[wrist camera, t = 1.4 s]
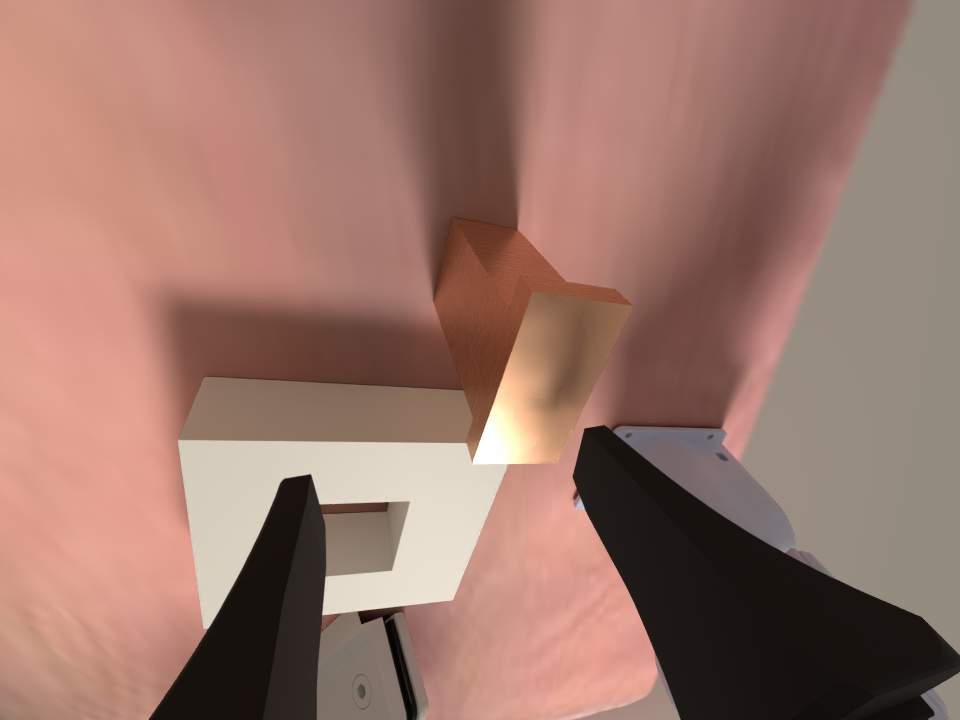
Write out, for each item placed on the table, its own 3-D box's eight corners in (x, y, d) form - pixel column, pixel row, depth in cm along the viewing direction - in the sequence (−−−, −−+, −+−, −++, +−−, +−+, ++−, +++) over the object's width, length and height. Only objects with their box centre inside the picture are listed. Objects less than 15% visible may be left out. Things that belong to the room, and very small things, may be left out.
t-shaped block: (524, 207, 19) (633, 306, 12) (488, 327, 22) (556, 463, 15) (457, 192, 18) (532, 291, 11) (429, 320, 21) (472, 463, 14)
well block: (494, 392, 24) (516, 443, 21) (441, 544, 32) (452, 600, 29) (204, 376, 20) (177, 440, 17) (220, 560, 27) (203, 629, 24)
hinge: (352, 603, 33) (401, 761, 28) (398, 591, 37) (450, 729, 31) (243, 705, 38) (266, 856, 33) (293, 686, 42) (322, 819, 36)
